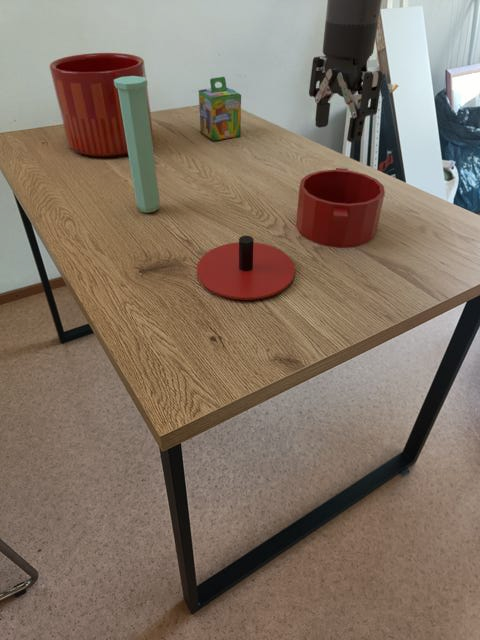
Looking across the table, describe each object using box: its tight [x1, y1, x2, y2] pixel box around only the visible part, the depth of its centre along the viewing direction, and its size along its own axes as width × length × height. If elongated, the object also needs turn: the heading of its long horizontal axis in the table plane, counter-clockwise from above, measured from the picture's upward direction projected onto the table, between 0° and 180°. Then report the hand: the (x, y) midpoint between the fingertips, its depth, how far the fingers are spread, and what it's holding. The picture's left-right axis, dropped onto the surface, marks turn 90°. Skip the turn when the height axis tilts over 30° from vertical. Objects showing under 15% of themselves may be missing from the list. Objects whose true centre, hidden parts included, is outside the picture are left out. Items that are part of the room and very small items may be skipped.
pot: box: [295, 167, 386, 248], centre depth 87 cm, size 16×21×8 cm
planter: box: [49, 52, 154, 158], centre depth 119 cm, size 23×23×20 cm
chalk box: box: [198, 76, 242, 142], centre depth 127 cm, size 9×9×15 cm
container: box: [114, 76, 161, 214], centre depth 87 cm, size 6×6×25 cm
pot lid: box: [196, 235, 296, 301], centre depth 76 cm, size 17×17×7 cm
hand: (336, 133), depth 76 cm, fingers open, 8 cm apart
